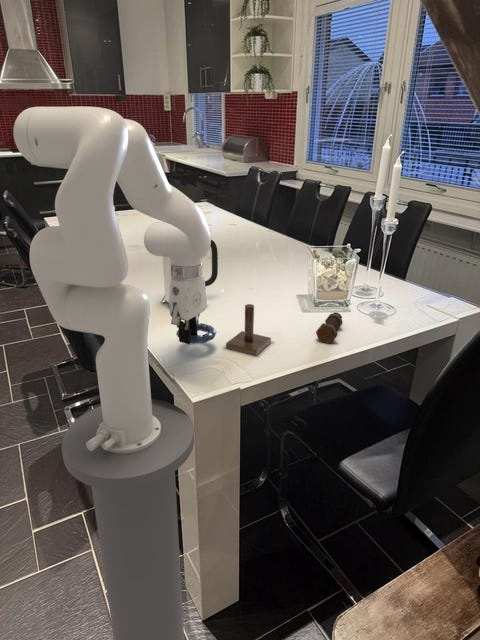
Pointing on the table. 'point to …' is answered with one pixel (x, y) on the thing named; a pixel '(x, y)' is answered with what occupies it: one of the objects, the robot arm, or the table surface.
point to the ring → (202, 338)
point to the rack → (248, 336)
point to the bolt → (329, 328)
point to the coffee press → (212, 279)
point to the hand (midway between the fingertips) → (188, 339)
